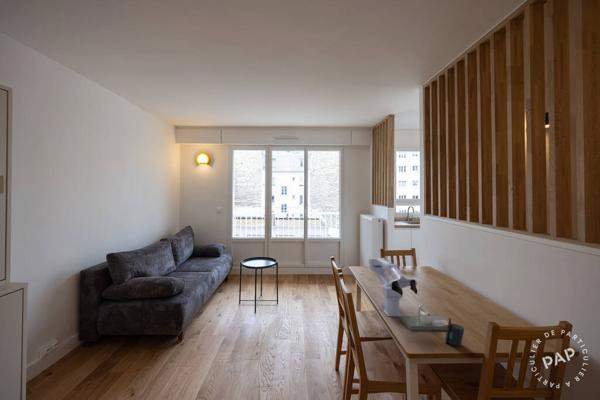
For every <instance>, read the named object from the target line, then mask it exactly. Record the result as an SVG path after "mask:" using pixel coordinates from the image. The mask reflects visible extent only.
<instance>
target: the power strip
mask: <svg viewBox="0 0 600 400" xmlns="http://www.w3.org/2000/svg"><path fill="white" fill-rule="evenodd" d="M400 320H401V322H402V323H403V324H404V325H405V326H406V328H408V330H410V331H447V328H448V323H449V320H447V319H446V318H444V316H442V315H431V324H422V323H421V322H420V317H419V316H418V315H402V316H400Z"/></svg>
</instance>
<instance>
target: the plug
mask: <svg viewBox="0 0 600 400" xmlns="http://www.w3.org/2000/svg"><path fill="white" fill-rule="evenodd" d="M431 316H432V314H431V313H430V316H428V315H427V314H425V313H424V312H423V311H422V312H420V322H421V323H422V324H431Z"/></svg>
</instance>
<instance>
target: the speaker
mask: <svg viewBox="0 0 600 400" xmlns="http://www.w3.org/2000/svg"><path fill="white" fill-rule="evenodd" d="M451 320H452V318H451V317H449V319H448V322H449V323H448V328H447V330H446V335H445V344H446V345H447V344H449V345H451V346H453V347H457V348H458V347H460V348H461V346H462V342H463V337H464V332H465V327H464V326H462V325H459V324H457V323H452V321H451Z"/></svg>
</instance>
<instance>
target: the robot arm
mask: <svg viewBox="0 0 600 400" xmlns="http://www.w3.org/2000/svg"><path fill="white" fill-rule="evenodd" d="M368 267H369V268H370V270H371V271H372V272H373V273H374V274H375V276H376V278H377V279H378V280H379V282H380V283H381V285H382V287H381V291H382V294H383V296H384V308H383V309H382V311H383V312H384V313H385V315H386V316H387V317H401V316H403V314H401V313H400V300H401V299H402V298H403V296H404V288H407V287H410V290H411V291H412V292H413V293H414V294H415V295H417V294H418V288H417V285H418V281H417V280H415V279H411V278H407V277H405V275H404V274H403V273H402V272H401V270H400V265H399V264H398V263H393V262H391V261H390V260H389V259H386V258H385V257H382V258H381V257H370V258H369V259H368ZM387 275H388V276H389V277H388V276H387ZM390 277H391V278H392V280H391V279H390Z"/></svg>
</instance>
